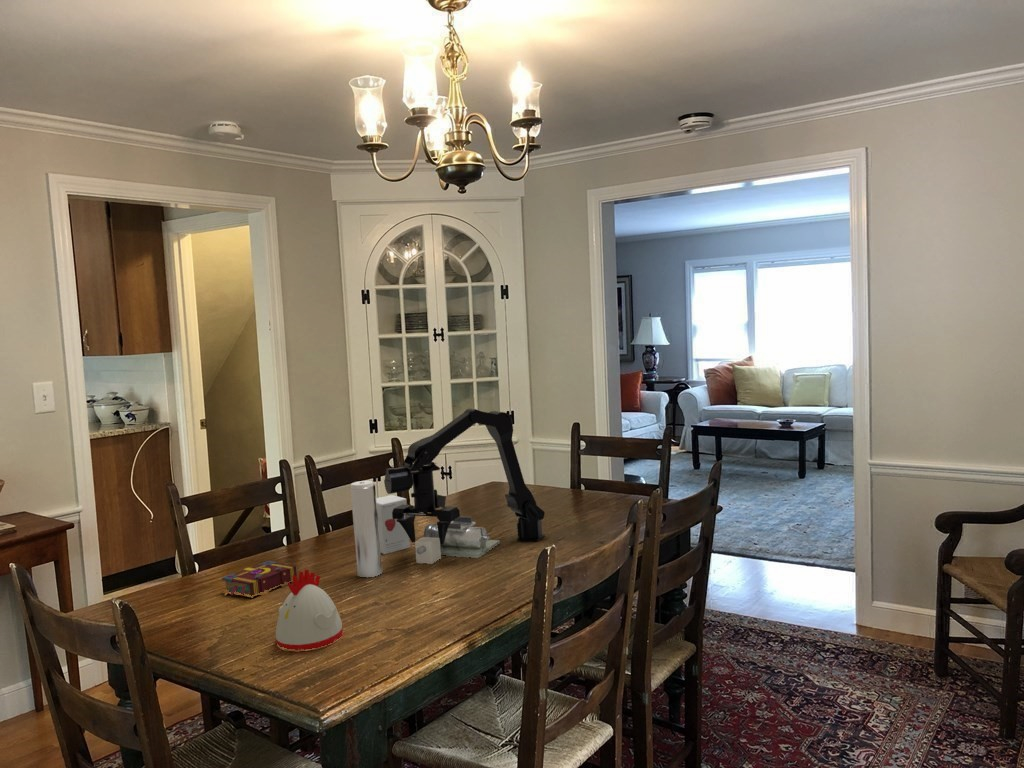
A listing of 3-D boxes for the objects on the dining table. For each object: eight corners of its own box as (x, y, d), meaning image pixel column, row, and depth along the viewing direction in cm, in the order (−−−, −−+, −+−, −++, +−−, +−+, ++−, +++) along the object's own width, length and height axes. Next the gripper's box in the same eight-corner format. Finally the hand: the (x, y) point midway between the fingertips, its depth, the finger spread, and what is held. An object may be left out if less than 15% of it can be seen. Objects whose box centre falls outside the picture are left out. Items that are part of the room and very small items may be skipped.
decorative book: (298, 581, 207) (296, 563, 207) (248, 602, 194) (246, 582, 193) (269, 576, 213) (268, 558, 213) (219, 596, 200) (217, 577, 199)
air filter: (377, 578, 205) (369, 484, 203) (353, 578, 206) (345, 485, 204) (385, 570, 211) (378, 479, 209) (363, 570, 212) (355, 479, 210)
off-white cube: (441, 558, 218) (439, 537, 218) (428, 566, 212) (426, 545, 212) (425, 557, 220) (424, 536, 220) (412, 565, 214) (411, 544, 214)
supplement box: (384, 555, 226) (380, 504, 224) (369, 549, 232) (364, 500, 231) (411, 547, 231) (407, 498, 230) (395, 542, 238) (391, 494, 237)
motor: (500, 543, 229) (498, 515, 228) (479, 558, 216) (477, 528, 216) (440, 540, 237) (438, 512, 237) (416, 553, 225) (414, 524, 224)
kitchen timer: (262, 645, 166) (256, 576, 164) (312, 622, 177) (306, 557, 176) (307, 657, 158) (300, 585, 157) (356, 632, 169) (350, 564, 168)
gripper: (466, 482, 219) (470, 536, 220) (409, 481, 227) (414, 533, 228) (447, 491, 209) (452, 548, 210) (388, 489, 217) (393, 544, 218)
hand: (427, 543), depth 217 cm, fingers open, 9 cm apart
